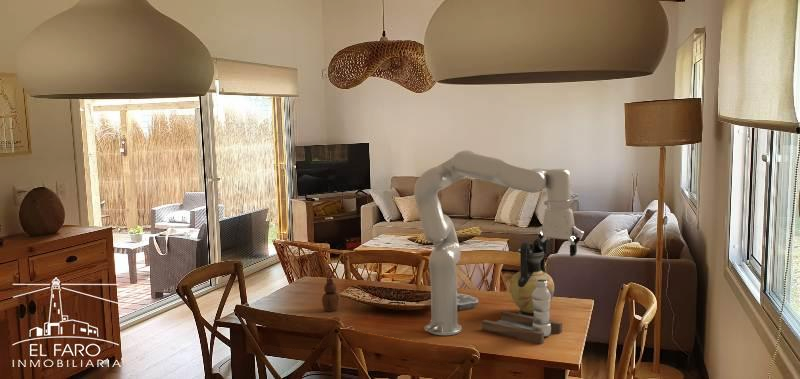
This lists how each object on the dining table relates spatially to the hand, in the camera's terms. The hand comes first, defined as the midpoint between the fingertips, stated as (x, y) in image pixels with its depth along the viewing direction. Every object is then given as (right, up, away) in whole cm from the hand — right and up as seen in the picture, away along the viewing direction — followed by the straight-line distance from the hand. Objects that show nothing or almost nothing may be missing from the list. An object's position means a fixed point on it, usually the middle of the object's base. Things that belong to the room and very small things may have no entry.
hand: (559, 254), depth 223 cm
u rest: (-11, -29, +12) cm, 33 cm away
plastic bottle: (-5, -30, +7) cm, 31 cm away
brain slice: (-33, -26, +46) cm, 62 cm away
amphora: (-3, -27, +31) cm, 42 cm away
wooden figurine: (-83, -28, +42) cm, 98 cm away
